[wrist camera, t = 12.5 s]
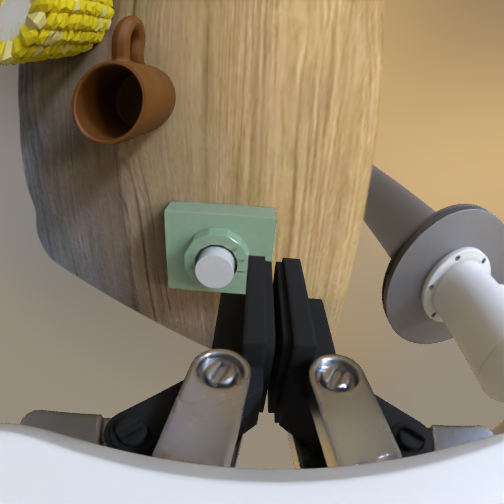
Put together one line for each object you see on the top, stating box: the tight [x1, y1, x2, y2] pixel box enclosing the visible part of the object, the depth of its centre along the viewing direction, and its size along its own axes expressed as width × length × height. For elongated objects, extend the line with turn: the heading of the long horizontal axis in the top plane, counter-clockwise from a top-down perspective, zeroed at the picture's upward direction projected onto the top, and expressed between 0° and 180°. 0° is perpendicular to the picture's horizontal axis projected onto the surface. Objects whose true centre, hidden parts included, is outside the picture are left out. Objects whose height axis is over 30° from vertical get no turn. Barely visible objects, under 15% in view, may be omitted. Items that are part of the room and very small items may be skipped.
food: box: [0, 0, 115, 65], centre depth 19 cm, size 15×12×10 cm
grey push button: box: [195, 246, 235, 288], centre depth 33 cm, size 4×4×2 cm
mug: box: [72, 16, 176, 145], centre depth 24 cm, size 12×8×9 cm, turn 169°
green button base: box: [164, 201, 277, 294], centre depth 36 cm, size 12×10×5 cm
